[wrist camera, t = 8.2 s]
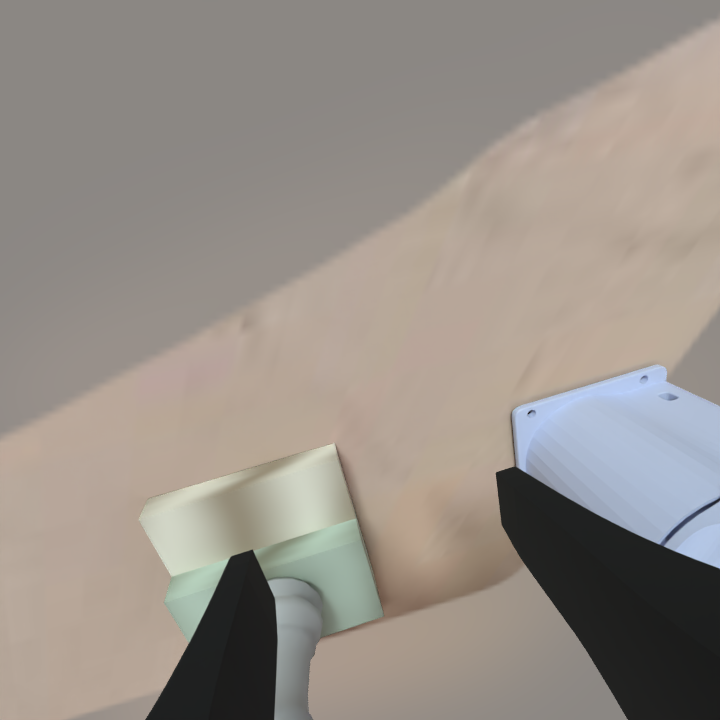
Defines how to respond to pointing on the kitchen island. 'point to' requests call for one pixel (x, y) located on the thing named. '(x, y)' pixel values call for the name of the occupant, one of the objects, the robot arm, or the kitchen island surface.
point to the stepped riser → (267, 537)
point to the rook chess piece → (295, 644)
